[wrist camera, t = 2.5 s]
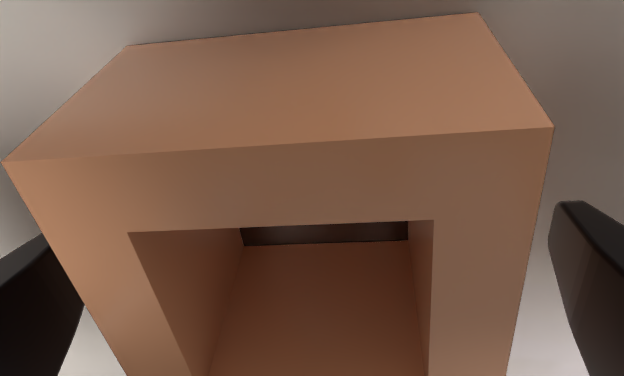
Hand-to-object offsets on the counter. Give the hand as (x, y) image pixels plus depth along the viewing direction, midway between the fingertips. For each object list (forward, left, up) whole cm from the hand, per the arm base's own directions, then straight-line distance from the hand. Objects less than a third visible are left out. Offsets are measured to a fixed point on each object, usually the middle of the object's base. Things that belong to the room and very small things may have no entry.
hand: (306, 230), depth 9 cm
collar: (0, 0, -2) cm, 2 cm away
